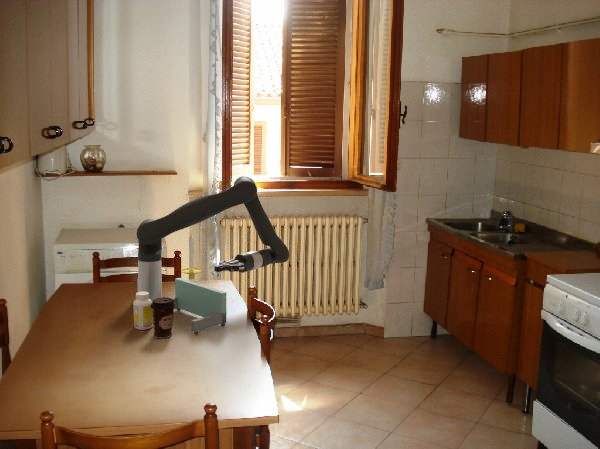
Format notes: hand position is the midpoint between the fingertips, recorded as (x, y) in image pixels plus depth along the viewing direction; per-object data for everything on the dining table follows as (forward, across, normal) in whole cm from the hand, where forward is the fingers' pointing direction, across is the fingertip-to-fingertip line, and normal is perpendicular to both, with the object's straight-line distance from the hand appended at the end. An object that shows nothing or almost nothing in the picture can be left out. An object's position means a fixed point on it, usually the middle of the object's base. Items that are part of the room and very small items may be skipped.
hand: (215, 269), depth 261 cm
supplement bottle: (+29, -7, +18) cm, 34 cm away
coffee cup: (+29, +5, +18) cm, 34 cm away
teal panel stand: (+14, 0, +18) cm, 23 cm away
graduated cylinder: (-11, -29, +18) cm, 36 cm away
